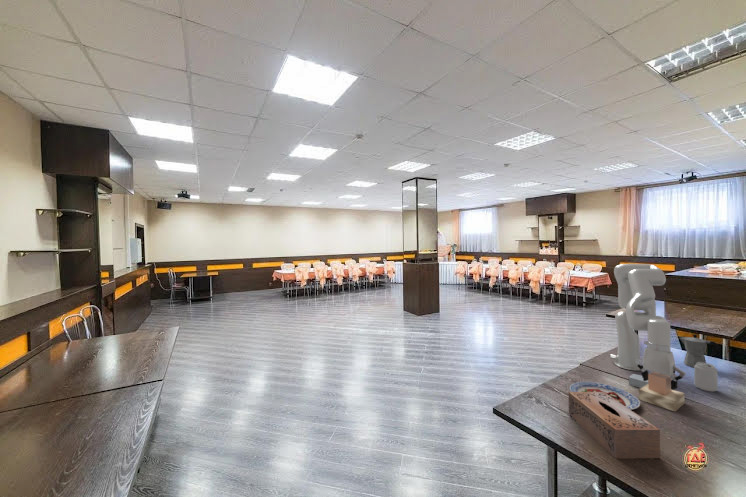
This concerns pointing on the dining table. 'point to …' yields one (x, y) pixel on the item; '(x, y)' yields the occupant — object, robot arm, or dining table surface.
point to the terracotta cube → (659, 383)
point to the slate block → (637, 381)
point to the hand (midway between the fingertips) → (659, 384)
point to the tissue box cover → (615, 425)
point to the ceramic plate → (607, 392)
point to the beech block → (662, 398)
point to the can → (706, 377)
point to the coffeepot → (696, 350)
